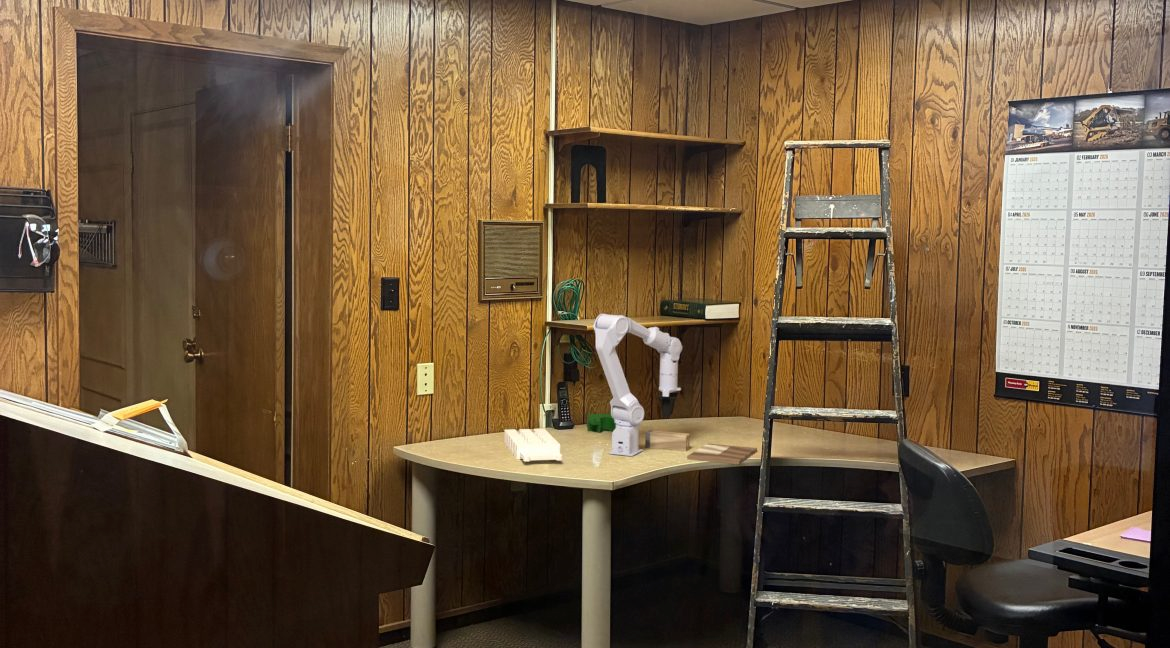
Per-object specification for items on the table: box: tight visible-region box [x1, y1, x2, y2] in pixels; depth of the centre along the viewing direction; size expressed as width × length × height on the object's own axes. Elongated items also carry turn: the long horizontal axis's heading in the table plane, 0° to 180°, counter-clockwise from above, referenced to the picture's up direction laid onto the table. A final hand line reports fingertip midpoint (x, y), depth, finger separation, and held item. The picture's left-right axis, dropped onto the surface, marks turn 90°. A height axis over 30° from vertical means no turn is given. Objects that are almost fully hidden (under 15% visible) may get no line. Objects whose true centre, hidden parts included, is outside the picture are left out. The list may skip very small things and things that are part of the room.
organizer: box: [503, 428, 563, 462], centre depth 315 cm, size 13×5×35 cm
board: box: [686, 443, 758, 465], centre depth 316 cm, size 22×16×1 cm
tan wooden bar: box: [644, 429, 691, 452], centre depth 325 cm, size 4×14×5 cm, turn 66°
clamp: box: [586, 413, 616, 434], centre depth 353 cm, size 12×6×9 cm, turn 98°
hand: (667, 416), depth 328 cm, fingers open, 7 cm apart
